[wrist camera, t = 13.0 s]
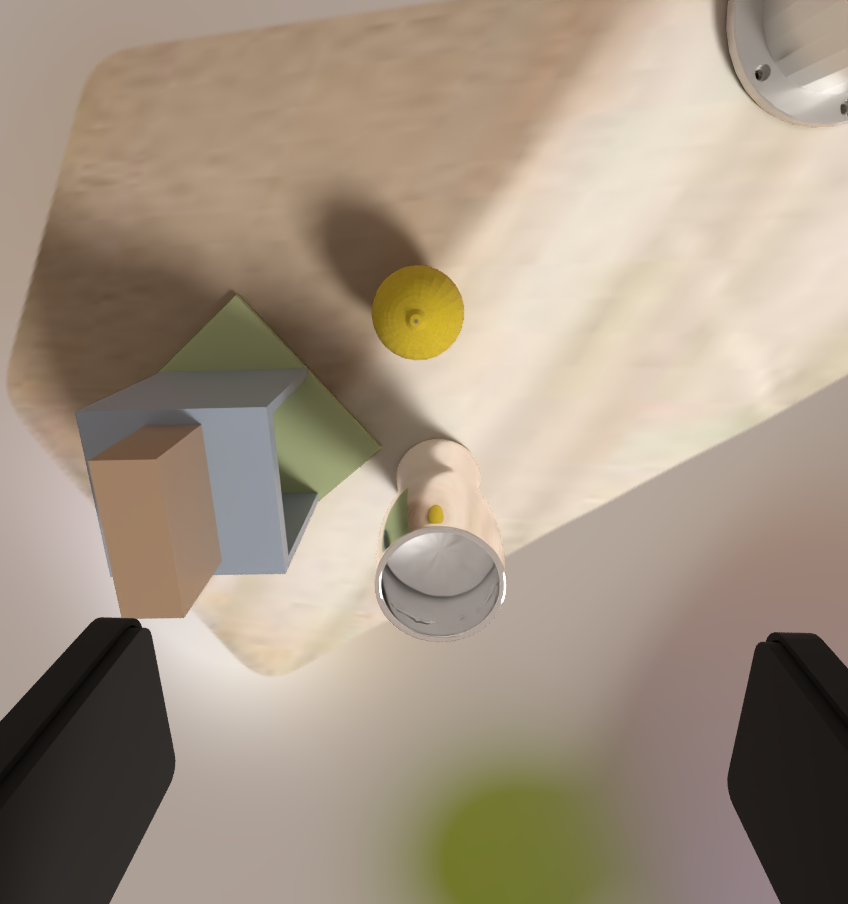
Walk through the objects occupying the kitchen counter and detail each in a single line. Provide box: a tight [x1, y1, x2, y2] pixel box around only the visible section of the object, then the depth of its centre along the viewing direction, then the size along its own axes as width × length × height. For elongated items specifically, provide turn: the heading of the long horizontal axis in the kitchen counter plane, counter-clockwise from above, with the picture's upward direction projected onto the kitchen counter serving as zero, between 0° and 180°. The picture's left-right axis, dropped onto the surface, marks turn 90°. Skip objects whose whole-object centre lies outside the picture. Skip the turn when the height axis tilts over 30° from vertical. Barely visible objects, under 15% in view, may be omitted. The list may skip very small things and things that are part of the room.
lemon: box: [372, 265, 464, 360], centre depth 37 cm, size 6×6×8 cm
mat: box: [158, 295, 381, 501], centre depth 43 cm, size 14×14×1 cm
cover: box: [75, 368, 319, 619], centre depth 35 cm, size 10×10×16 cm
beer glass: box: [375, 439, 507, 642], centre depth 37 cm, size 7×7×15 cm
